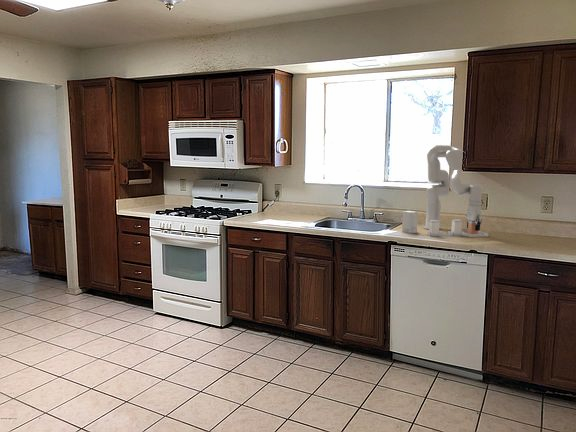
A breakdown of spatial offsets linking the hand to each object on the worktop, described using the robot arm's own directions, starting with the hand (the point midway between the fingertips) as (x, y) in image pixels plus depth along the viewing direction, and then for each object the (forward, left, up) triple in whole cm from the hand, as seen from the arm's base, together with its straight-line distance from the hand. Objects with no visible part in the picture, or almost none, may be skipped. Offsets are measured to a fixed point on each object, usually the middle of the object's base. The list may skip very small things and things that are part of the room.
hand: (473, 229), depth 307 cm
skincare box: (-15, -38, -5) cm, 41 cm away
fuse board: (0, -20, -5) cm, 21 cm away
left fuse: (0, -28, -4) cm, 28 cm away
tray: (0, 0, -5) cm, 5 cm away
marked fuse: (0, 0, -4) cm, 4 cm away
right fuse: (0, -12, -4) cm, 13 cm away
